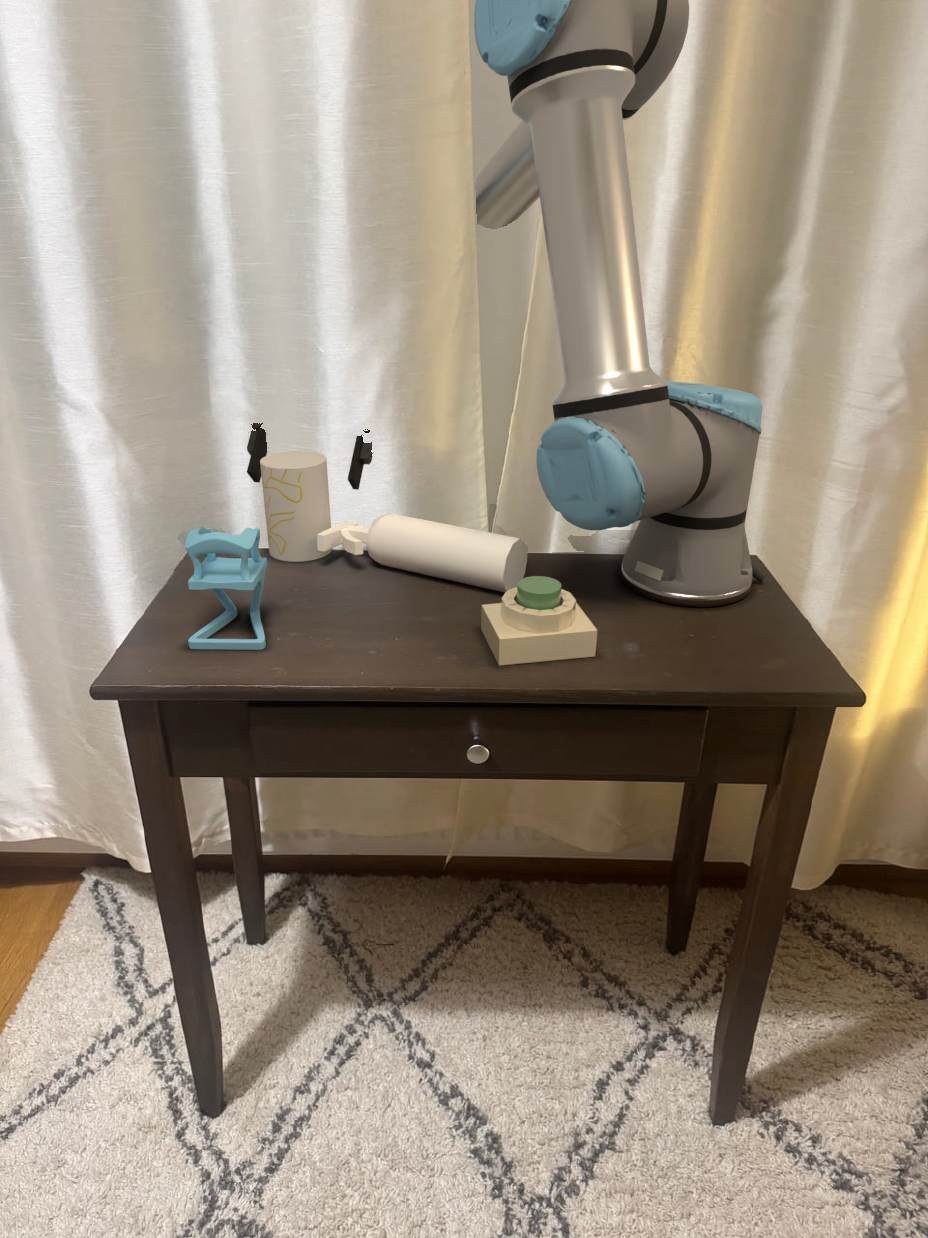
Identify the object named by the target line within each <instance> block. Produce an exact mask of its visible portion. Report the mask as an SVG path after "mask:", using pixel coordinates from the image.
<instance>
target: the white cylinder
mask: <svg viewBox="0 0 928 1238" xmlns="http://www.w3.org/2000/svg"><path fill="white" fill-rule="evenodd" d="M327 460H328V459H327V457H326V455H325V454H323V453H319V452H315V451H307V450H304V451H303V450H291V451H281V452H275V453H271V454H267V455H266V456H265V457H263V458H262V459H261V460H260V466H261V485H262V494H263V495H262V496H263V505H264V513H265V514H264V515H265V524H266V534H267V543H268V553H269V555H270V556H271V557H272V558H274V559H276V560H278V561H282V562H290V563H291V562H293V563H294V562H295V563H297V562H310V561H314V560H318V559H319V560H320V559H322V558H324V557H327V556H328V555H330V554H331V553H332V551H333V548H331V549H329V550H327V551H319V550H318V549H317V534H319V533H321V532H323V531H325V530H327V529H329V528H331V527H332V523H331V506H330V504H331V503H330V490H329V476H328V474H329V473H328V463H327V462H328V461H327Z"/></svg>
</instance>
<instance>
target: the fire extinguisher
mask: <svg viewBox="0 0 928 1238" xmlns="http://www.w3.org/2000/svg"><path fill="white" fill-rule="evenodd" d="M364 544H365V546H366V550H367V554H368V556H369V557H370V558H372V560H374V561H375V562H376V563H379V565H382V566H385V567H389V568H394V569H398V570H402V571H407V572H411V573H414V574H415V573H416V574H420V575H424V576H428V577H434V578H438V579H441V580H447V581H451V582H456V583H461V584H465V585H469V586H474V587H477V588H483V589H487V590H490V591H495V592H500V593H504V594H505V593H506V591H507V590H510V589H512V588H515V587H517V584H518V582H519V581H520V580H521V579H523V578H525V575H526V570H527V569H526V568H527V564H528V558H529V557H528V552H529V547H528V543H527V542H525V541H524V540H523V539H522V538H521V537H515V536H511V535H505V534H499V533H494V532H489V531H486V530H485V531H484V530H479V529H474V528H469V527H463V526H458V525H453V524H447V523H442V522H438V521H432V520H427V519H422V518H417V517H416V518H415V517H412V516H406V515H401V514H396V513H392V512H389V513H386V514H384V515H381V516H378V517H377V518H374V519H373V520H372V523H371V525H359V522H358V521H357V522H356V521H346V520H344V521H341V522H339V523H337V524H335V525H333V526H331V528H329V529H327V530H325V531H323V532H321V533H319V534H317V549H318V550H319V551H327V550H329V549H331V548H332V549H334V548H336V547H339V546H341V545H342V548H343V549H344V550H345V551H346V552H347V553H350V554H352V555H354V556H359V555H364Z"/></svg>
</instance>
